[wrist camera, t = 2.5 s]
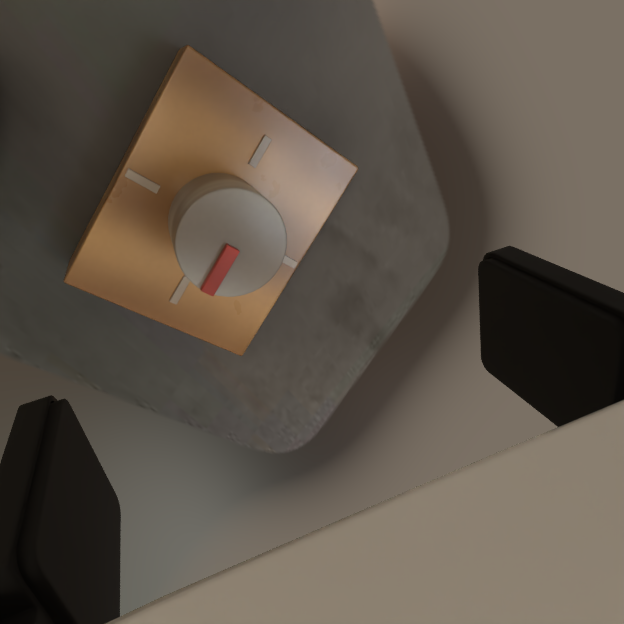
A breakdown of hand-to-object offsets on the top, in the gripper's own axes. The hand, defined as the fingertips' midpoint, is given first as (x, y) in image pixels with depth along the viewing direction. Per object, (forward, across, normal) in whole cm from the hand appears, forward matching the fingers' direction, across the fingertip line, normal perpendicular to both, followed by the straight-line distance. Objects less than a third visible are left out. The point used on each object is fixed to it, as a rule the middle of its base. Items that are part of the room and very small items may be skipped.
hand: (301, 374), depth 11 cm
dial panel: (+16, 0, 0) cm, 16 cm away
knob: (+13, 0, 0) cm, 13 cm away
